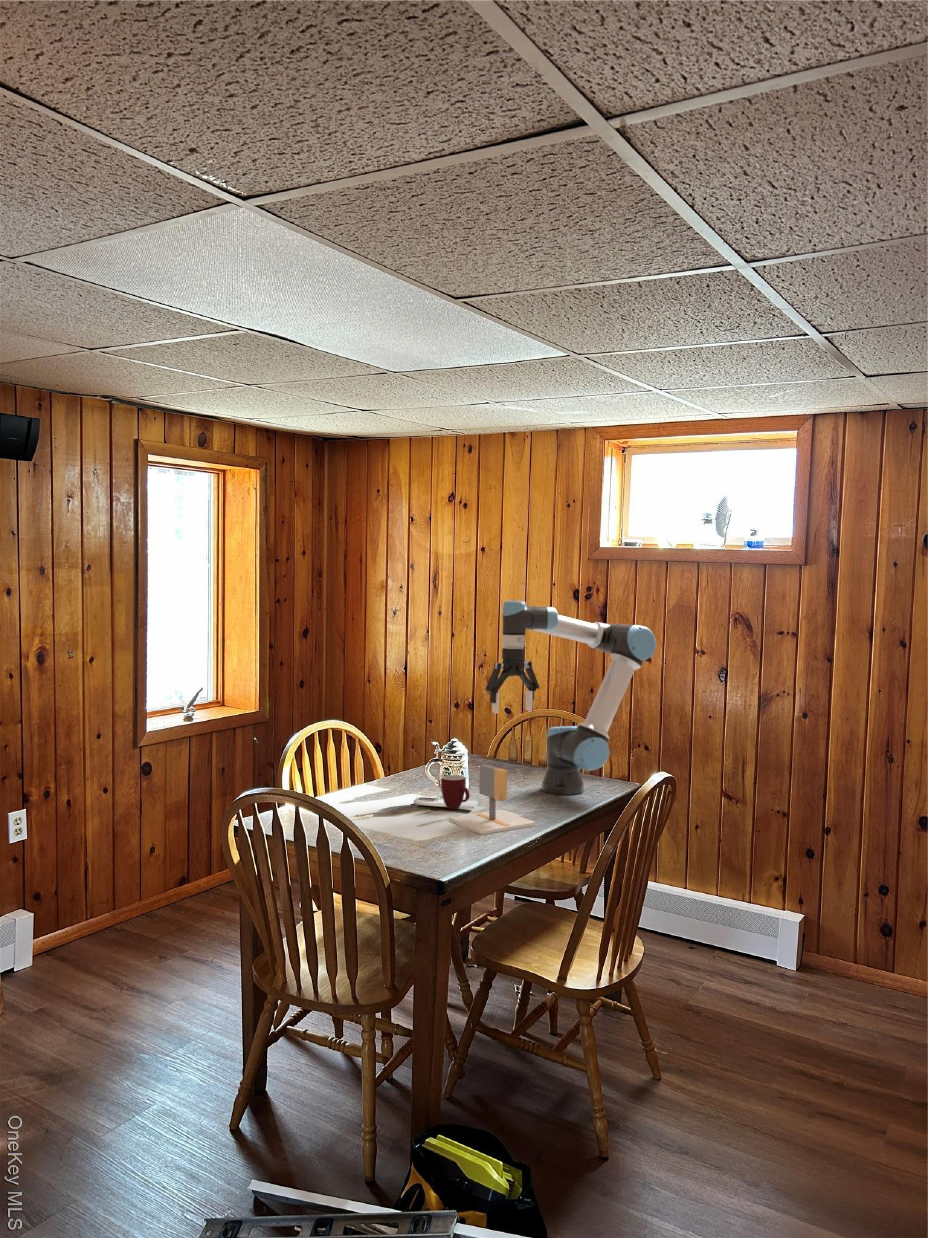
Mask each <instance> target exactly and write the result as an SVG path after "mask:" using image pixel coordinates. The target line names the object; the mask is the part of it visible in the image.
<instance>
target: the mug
mask: <svg viewBox="0 0 928 1238" xmlns="http://www.w3.org/2000/svg"><path fill="white" fill-rule="evenodd" d="M440 778H441V779H440V781H441V782H440V786H441V793H442V798H443V802H444V804H445V807H446V808H447V809H450V810H457V809H459V808H460V807H461V805H462V803H465V802H468V801H469V799H470V791H469V789H468V788H467V787H466V784H467V782H466V779H467V777H466V776H464V775H460V774H450V775H449V774H448V775H442V776H441V777H440ZM464 796H465V797H464Z"/></svg>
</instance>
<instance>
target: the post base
mask: <svg viewBox="0 0 928 1238" xmlns="http://www.w3.org/2000/svg"><path fill="white" fill-rule="evenodd" d="M488 799H489V800H488V801H489V802H488V803H489V806H488V809H489V810H488V811H483V812H475V813H471V814H469V813H468V814H462V815H456V816H450V817H449V822H452V823H454V824H456V825H457V826H461V827H463V828H465V829H467V830H470V831H472V832H475V833H477V834H479V835H487V834H493V833H499V832H506V831H511V830H517V829H523V828H529V827H530V828H531V827H535V826H537V825H536V821H533V820H531V819H528V818H525V817H523V816H520V815H518V814H515V813H512V812H510V811H507V810H504V809H497V804H496V803H497V800H496V799H494V798H491V797H488Z"/></svg>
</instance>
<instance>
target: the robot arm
mask: <svg viewBox="0 0 928 1238" xmlns="http://www.w3.org/2000/svg"><path fill="white" fill-rule="evenodd" d="M501 615H502V633H501V634H502V635H501V636H502V637H501V647H503V648H501V659H502V662H494V663H493V670H492V672H491V674H490V677H489V680H488V682H487V685H486V687H485V688H484V689H485V691H486V692H489V693H490V703H491V705H492V706H491V709H492V710H491V712H492V713H493V714H499V713H500V712H499V710H500V708H499V707H500V693H499V691H500V689H501V688H502V686H503V684H504V682H505V681H506V679H507V678H509V677H514V676H516V677H519V678H520V680H521V681H522V683H523V684H524V686H525V687H526V689H527V690H525V710H526V711H530V712H532V711H533V701H534V699H535V692H537V690H538V689H540V684H539V682H538V679H537V677H536V675H535V672H534V669H533V663H532V661H528V660H527V661H526V660H525V659H526V657H525V655H526V651H525V650H526V649H525V648H524V647H526V630H531V631H535V632H539V633H542V634H547V635H551V636H554V637H557V638H558V637H559V638H563V639H566V640H570V641H571V640H572V641H575V642H579V643H583V644H587V646H588V647H590V648H591V649H592V648H593V649H595V650H599V651H600V652H601V651H602V652H604V653H608V654H609V656H610V658H611V662H610V665H609V666H608V668H607V671H606V672H605V674H604V677H603V679H602V682H601V684H600V686H599V689H598V690H597V693H596V695H595V697H594V699H593V701H592V705H591V706H590V708H589V711H588V712H587V715H586V718H585V720H584V721H583V722H582V723H578V725H569V726H568V725H565V726H564V725H563V726H562V725H560V726H551V727H550V728H548V730H547V736H546V740H547V742H546V743H547V745H546V747H547V748H546V770H545V772H544V776H543V778H542V779H543V780H542V781H541V790H542V791H543V792H545V793H549V794H552V795H560V796H561V795H565V796H566V795H567V796H568V795H578V794H581V793H582V794H583V792H584V791H585V785H584V784H585V783H584V781H583V778H582V773H581V770H584V771H596V770H598V769H600V768H602V767H603V766H605V764H606V763H607V761H608V759H609V756H610V750H609V749H610V746H609V745H608V743H609V740H610V737H609V734H608V733H609V730H610V727H611V725H612V722H613V720H614V718H615V716H616V713H617V711H618V709H619V707H620V704H621V702H622V700H623V698H624V695H625V693H626V691H627V689H628V687H629V684H630V682H631V679H632V677H633V675H634V672H635V671H636V670H639V669H641V668H642V665H643V662H644V661H645V660H648V659H650V658H652V656H654V654H655V652H656V649H657V640H656V638H655V635H654V632H653V631H652V630H651V629H649V628H648V627H646V626H643V625H639V624H625V623H604V622H599V621H594V622H593V623H592V622H587V621H584V620H580V619H577V618H572V617H568V616H565V615H561V614H559V612H558V611H557V609H556V608H555V607H553V606H535V605H533V606H531V605H526V601H523V600H505V601H504V602H503V604H502V613H501ZM524 669H525V670H524Z"/></svg>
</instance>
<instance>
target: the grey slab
mask: <svg viewBox="0 0 928 1238" xmlns="http://www.w3.org/2000/svg"><path fill="white" fill-rule="evenodd" d="M478 781H479V785H478V786H479V789H478V791H479V794H480V795H482V796H486V797H488V798H489V797H491V798H494V799H496V801H499V802H500V801H501V802H502V801H507V800H508V770H507V769H504V768H500V767H497V766H493V765H490V764H487V763H483V764H479V780H478Z"/></svg>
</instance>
